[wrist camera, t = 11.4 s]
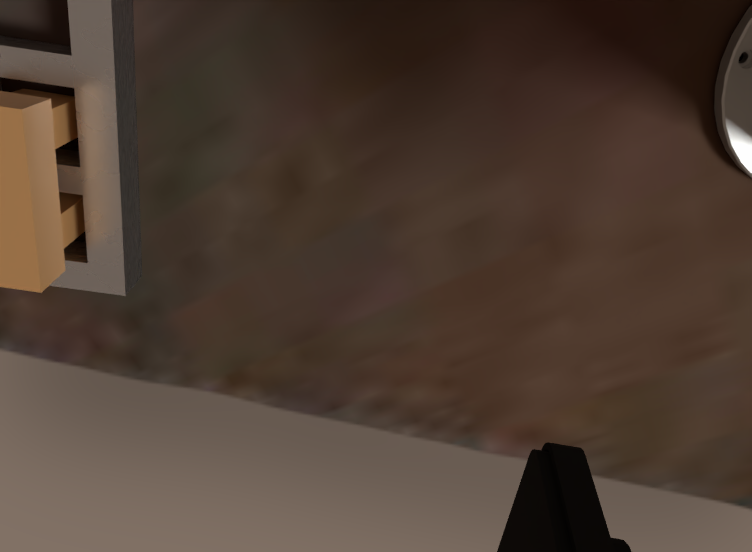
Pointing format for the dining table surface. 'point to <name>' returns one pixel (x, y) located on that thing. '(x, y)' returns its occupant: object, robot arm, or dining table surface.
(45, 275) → the tan rectangular block
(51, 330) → the dining table surface
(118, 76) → the grey slotted tray
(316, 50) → the dining table surface
